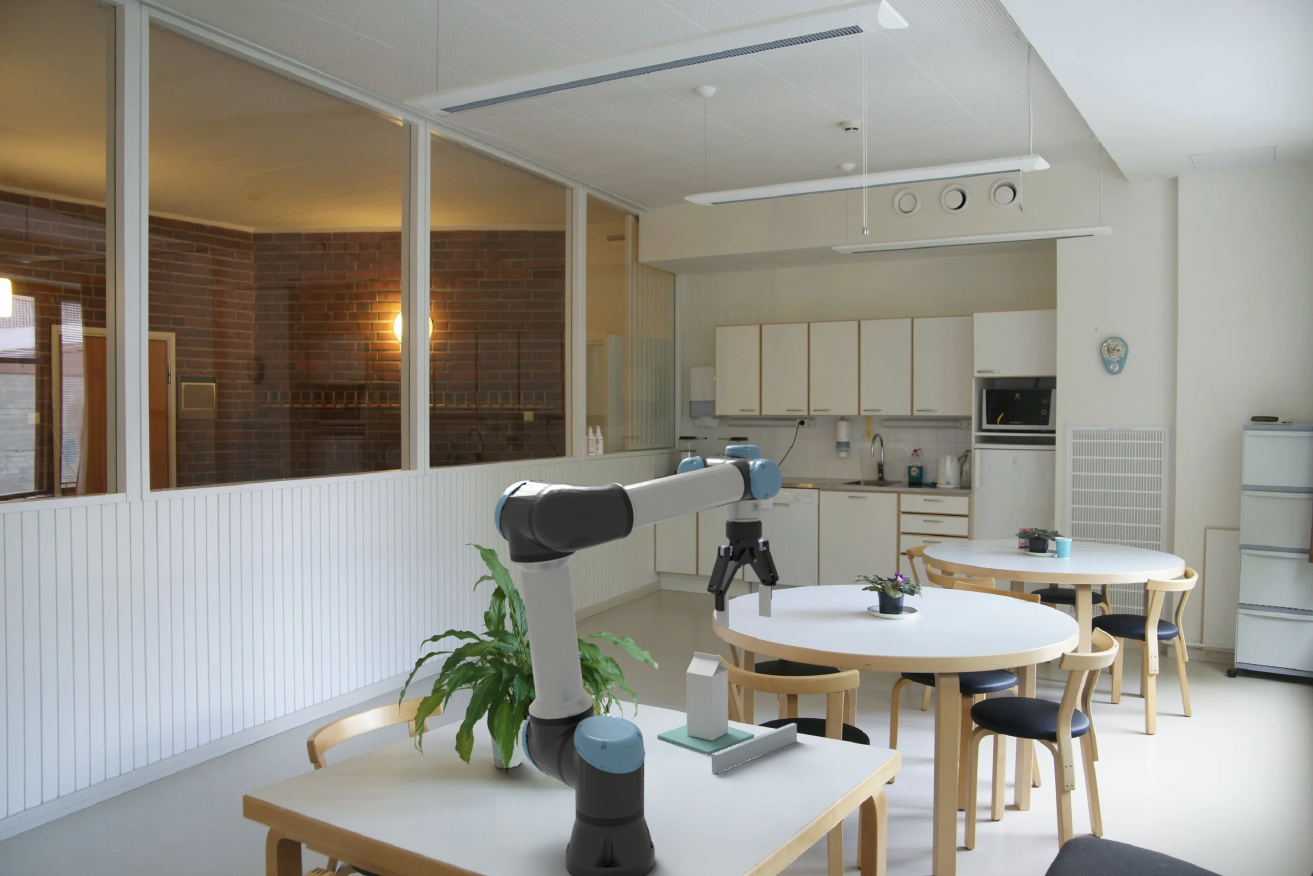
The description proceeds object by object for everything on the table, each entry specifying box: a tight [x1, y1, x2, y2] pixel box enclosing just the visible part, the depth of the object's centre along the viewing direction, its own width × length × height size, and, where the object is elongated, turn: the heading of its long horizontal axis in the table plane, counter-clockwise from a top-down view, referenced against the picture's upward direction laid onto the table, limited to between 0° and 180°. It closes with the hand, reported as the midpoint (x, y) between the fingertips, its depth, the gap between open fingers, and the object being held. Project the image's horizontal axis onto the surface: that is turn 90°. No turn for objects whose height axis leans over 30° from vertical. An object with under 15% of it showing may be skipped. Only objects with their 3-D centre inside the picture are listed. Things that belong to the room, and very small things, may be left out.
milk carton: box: [685, 651, 729, 741], centre depth 222 cm, size 7×7×19 cm
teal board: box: [657, 724, 755, 756], centre depth 222 cm, size 16×16×1 cm
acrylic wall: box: [711, 722, 798, 774], centre depth 210 cm, size 28×1×4 cm, turn 135°
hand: (744, 621), depth 197 cm, fingers open, 13 cm apart
